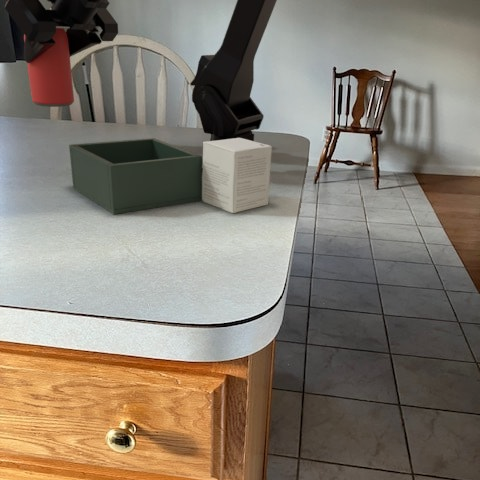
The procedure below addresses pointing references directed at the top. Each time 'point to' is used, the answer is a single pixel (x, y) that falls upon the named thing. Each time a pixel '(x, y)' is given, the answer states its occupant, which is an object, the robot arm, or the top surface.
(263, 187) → the product box
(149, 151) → the open storage bin
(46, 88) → the beer can
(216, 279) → the top surface
